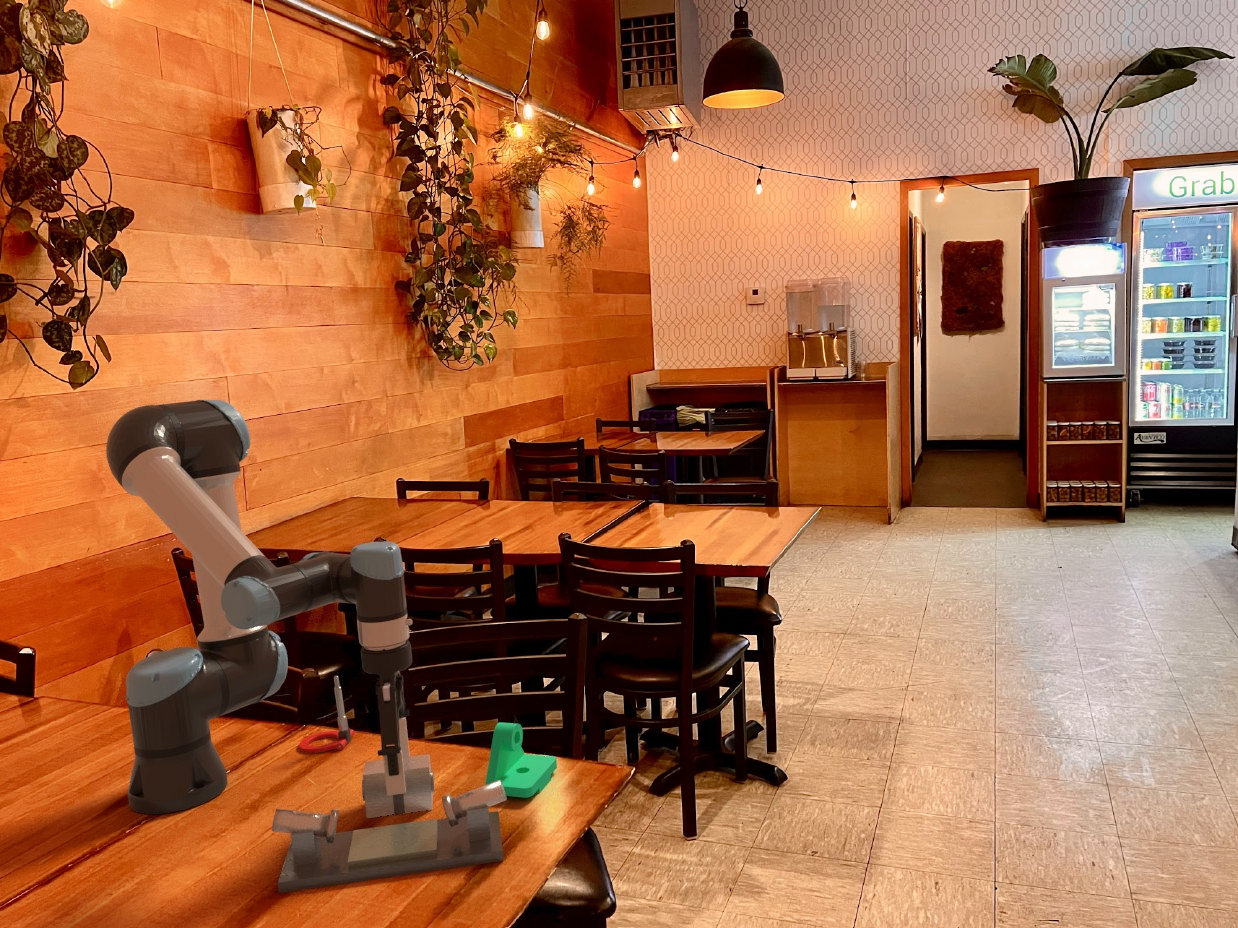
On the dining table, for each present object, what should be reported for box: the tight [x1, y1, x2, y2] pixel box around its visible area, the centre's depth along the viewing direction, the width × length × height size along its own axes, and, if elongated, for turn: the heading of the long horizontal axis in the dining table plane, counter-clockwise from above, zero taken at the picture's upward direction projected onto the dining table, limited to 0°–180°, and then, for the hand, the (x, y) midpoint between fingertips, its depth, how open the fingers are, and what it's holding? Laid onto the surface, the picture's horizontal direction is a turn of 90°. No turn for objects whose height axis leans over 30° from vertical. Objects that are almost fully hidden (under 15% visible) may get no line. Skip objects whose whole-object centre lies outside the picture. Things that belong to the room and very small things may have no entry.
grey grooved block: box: [361, 753, 435, 819], centre depth 155 cm, size 11×5×7 cm, turn 100°
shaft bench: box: [271, 780, 508, 894], centre depth 140 cm, size 32×12×9 cm, turn 100°
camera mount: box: [484, 722, 558, 799], centre depth 160 cm, size 12×8×10 cm, turn 162°
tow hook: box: [298, 675, 355, 754], centre depth 182 cm, size 8×13×9 cm
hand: (398, 774), depth 155 cm, fingers open, 13 cm apart
